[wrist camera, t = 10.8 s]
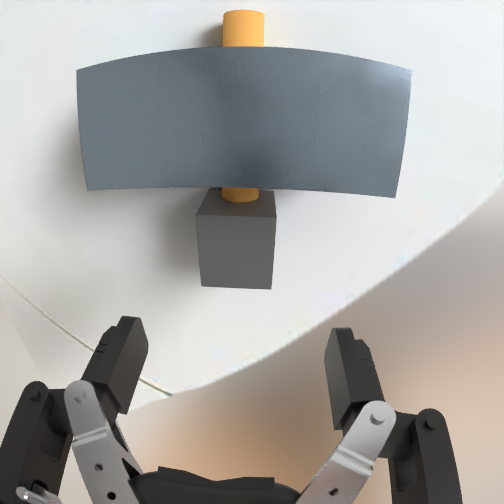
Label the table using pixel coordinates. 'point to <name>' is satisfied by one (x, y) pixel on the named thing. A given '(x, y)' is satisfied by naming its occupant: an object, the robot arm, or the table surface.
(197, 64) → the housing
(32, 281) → the table surface
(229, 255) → the hammer
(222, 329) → the table surface
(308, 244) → the table surface
